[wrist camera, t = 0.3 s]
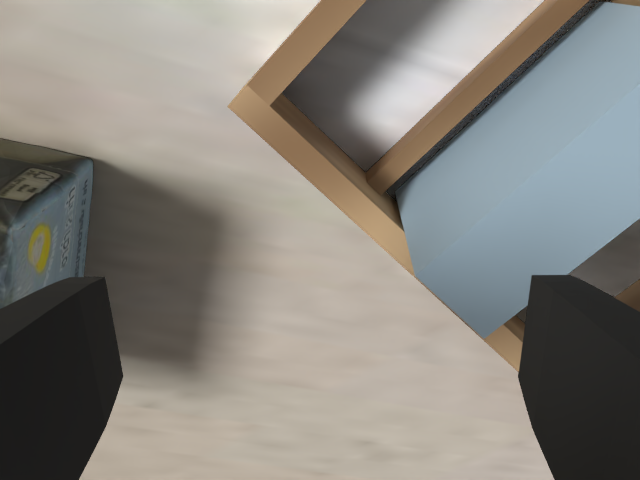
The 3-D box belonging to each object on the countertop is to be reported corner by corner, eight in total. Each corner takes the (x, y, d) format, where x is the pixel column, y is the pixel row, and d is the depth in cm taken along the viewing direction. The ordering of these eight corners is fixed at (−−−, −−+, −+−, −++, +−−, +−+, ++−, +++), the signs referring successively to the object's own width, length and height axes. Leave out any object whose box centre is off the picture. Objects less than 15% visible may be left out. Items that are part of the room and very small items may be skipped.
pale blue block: (650, 63, 18) (784, 106, 13) (445, 240, 21) (483, 339, 15) (598, 1, 17) (717, 16, 12) (394, 190, 20) (415, 275, 14)
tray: (871, 280, 21) (934, 318, 18) (620, 442, 24) (648, 491, 22) (496, -198, 15) (522, -225, 13) (240, 89, 19) (227, 106, 16)
